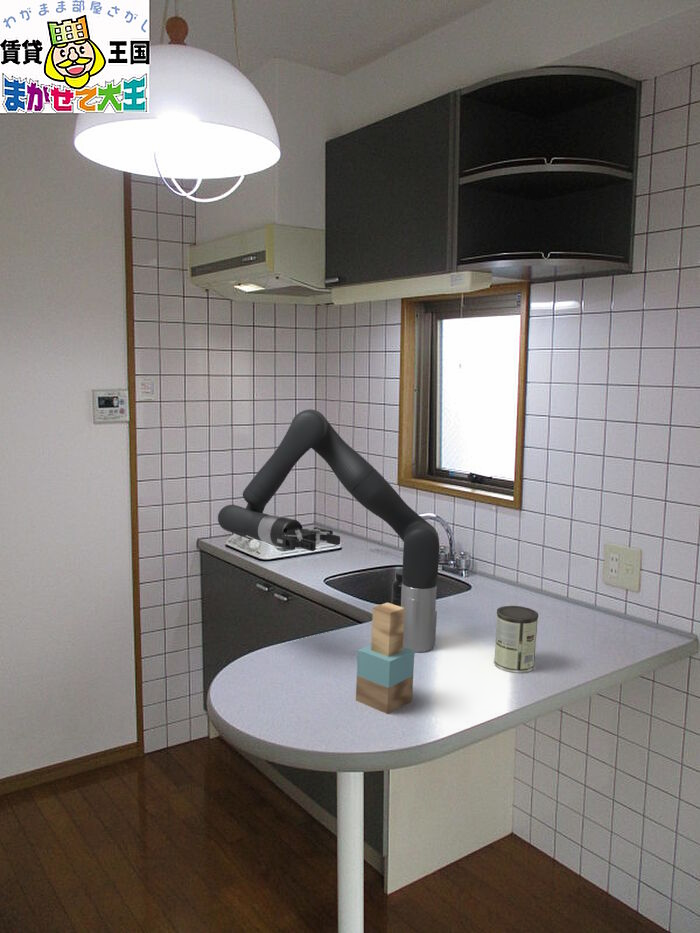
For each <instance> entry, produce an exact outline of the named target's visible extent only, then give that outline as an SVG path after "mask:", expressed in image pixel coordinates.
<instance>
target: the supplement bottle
mask: <svg viewBox="0 0 700 933" xmlns="http://www.w3.org/2000/svg"><path fill="white" fill-rule="evenodd" d="M401 592H402V570H400V571H399V570H398V571H396V572H395V580H394V581H393V582H392V585H391V604H394V605H397V606H400V607H401Z"/></svg>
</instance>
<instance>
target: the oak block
mask: <svg viewBox="0 0 700 933" xmlns="http://www.w3.org/2000/svg"><path fill="white" fill-rule="evenodd" d="M404 615H405V608H403V607H400V606H397V605H394V604H392V602H391V603H390V602H385V603H382V604H378V605H375V606H373V607H372V618H371V619H372V620H371V621H372V622H371V627H372V628H371V644H370V645H371V651H374V652H377V653H379V654H382V655H385V656H387V657H389V656H392V655H394V654H397V653H399V652H401V651H403V635H404Z"/></svg>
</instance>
